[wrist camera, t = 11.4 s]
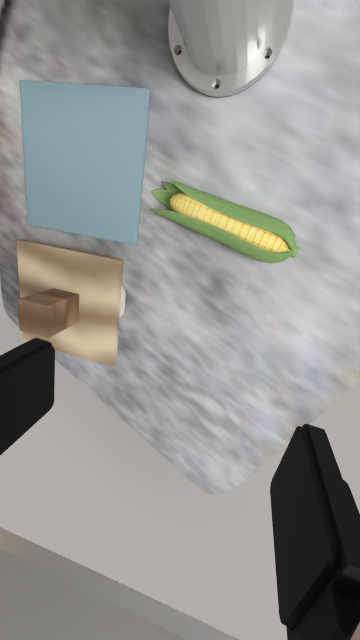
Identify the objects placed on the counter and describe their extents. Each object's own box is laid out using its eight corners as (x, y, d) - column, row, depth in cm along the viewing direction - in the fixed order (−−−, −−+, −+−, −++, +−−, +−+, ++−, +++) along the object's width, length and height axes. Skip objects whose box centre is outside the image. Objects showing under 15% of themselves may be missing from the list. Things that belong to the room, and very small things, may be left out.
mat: (22, 81, 35) (19, 79, 34) (150, 90, 32) (149, 88, 31) (29, 225, 41) (27, 225, 41) (137, 244, 38) (136, 245, 38)
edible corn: (283, 270, 35) (287, 275, 30) (146, 211, 36) (133, 209, 32) (304, 231, 33) (312, 231, 28) (158, 171, 34) (146, 163, 30)
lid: (22, 239, 36) (-28, 241, 30) (123, 259, 33) (93, 266, 27) (28, 338, 41) (-13, 358, 35) (116, 362, 39) (89, 389, 32)
